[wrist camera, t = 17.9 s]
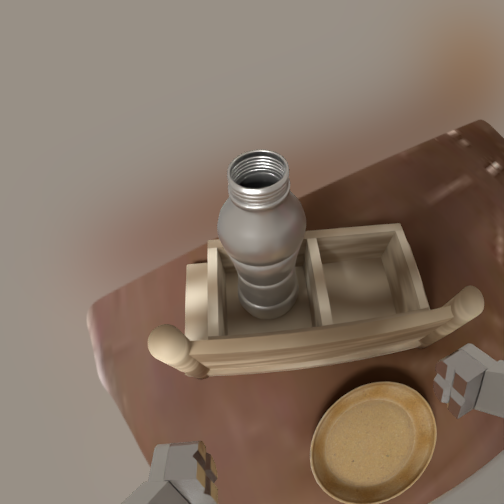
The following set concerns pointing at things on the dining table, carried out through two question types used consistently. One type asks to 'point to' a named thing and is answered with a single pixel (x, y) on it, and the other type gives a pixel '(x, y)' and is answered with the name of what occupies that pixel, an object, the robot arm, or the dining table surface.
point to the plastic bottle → (262, 232)
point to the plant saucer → (373, 443)
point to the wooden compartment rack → (312, 309)
